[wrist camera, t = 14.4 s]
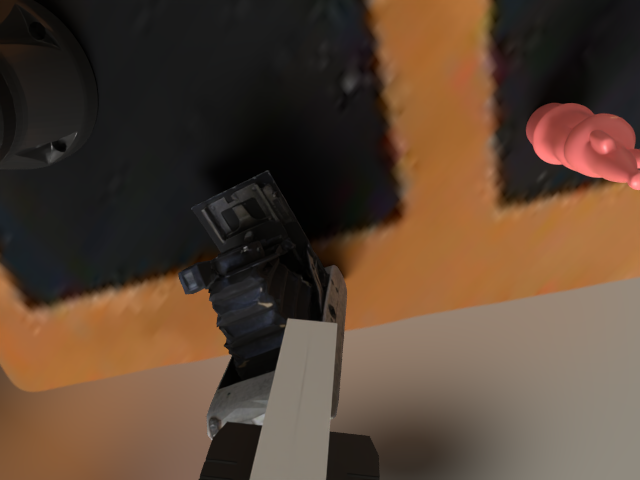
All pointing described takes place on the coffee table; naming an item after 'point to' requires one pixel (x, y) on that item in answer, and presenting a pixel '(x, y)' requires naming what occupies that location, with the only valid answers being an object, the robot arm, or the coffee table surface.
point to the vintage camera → (260, 293)
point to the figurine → (585, 142)
